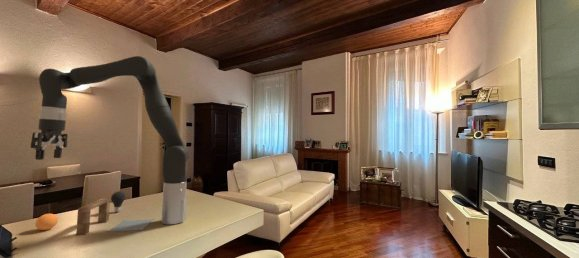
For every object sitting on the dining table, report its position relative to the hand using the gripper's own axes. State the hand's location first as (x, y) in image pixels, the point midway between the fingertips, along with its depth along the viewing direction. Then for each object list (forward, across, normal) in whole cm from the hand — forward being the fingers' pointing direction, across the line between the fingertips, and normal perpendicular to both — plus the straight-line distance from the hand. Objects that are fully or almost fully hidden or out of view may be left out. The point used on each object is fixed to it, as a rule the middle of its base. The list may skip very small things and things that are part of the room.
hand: (48, 158), depth 91 cm
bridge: (+27, -2, -19) cm, 33 cm away
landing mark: (+27, -2, -33) cm, 43 cm away
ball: (+24, -2, -3) cm, 25 cm away
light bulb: (+27, +18, -18) cm, 37 cm away
